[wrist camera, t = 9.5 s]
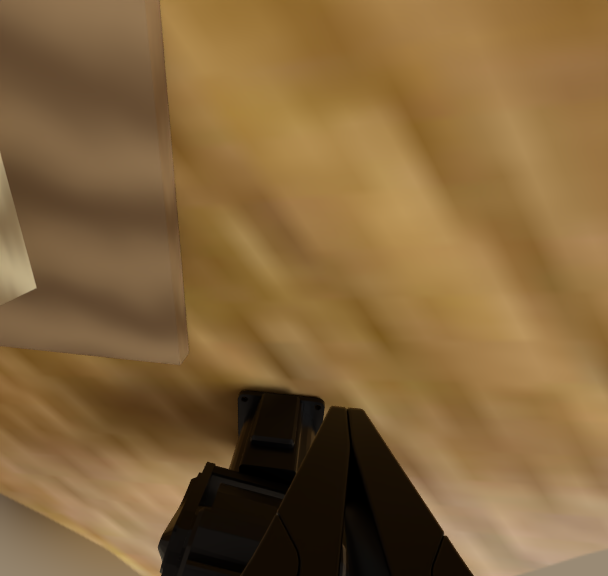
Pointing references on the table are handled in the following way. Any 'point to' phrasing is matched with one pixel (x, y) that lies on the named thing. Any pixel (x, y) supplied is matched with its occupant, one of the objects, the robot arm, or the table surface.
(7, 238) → the maple plate
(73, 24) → the bench board
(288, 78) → the table surface
